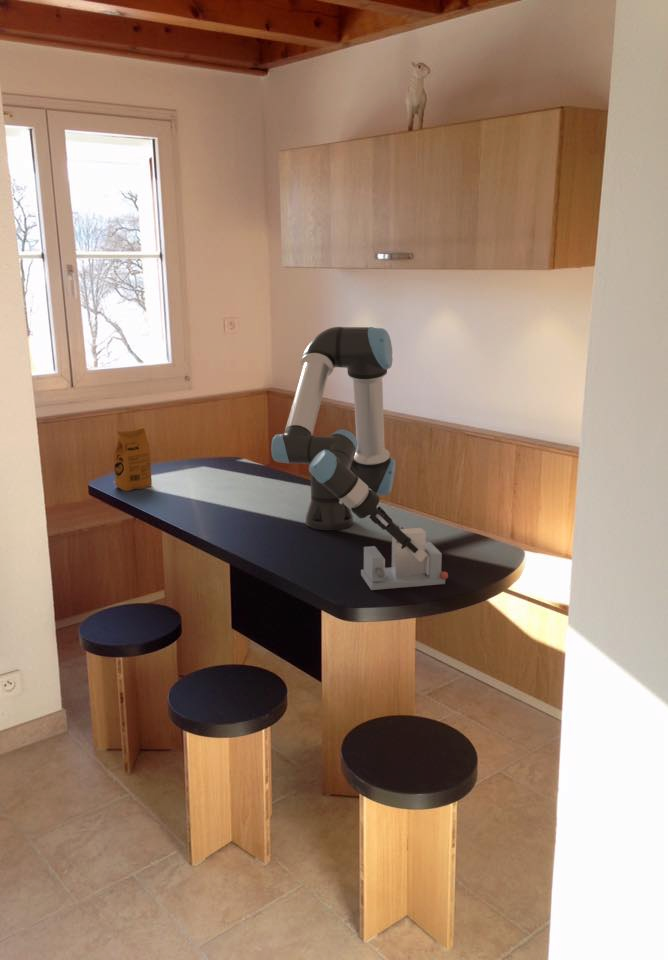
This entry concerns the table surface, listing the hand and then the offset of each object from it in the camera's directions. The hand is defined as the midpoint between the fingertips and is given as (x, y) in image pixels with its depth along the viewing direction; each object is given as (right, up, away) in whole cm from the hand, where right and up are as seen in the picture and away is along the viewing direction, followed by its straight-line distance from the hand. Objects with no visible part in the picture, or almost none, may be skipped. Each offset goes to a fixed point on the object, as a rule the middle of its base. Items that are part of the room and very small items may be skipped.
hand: (420, 554), depth 226 cm
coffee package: (-98, +17, +93) cm, 136 cm away
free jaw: (-12, -6, -2) cm, 13 cm away
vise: (-5, -7, +2) cm, 8 cm away
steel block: (-3, -5, +1) cm, 6 cm away
